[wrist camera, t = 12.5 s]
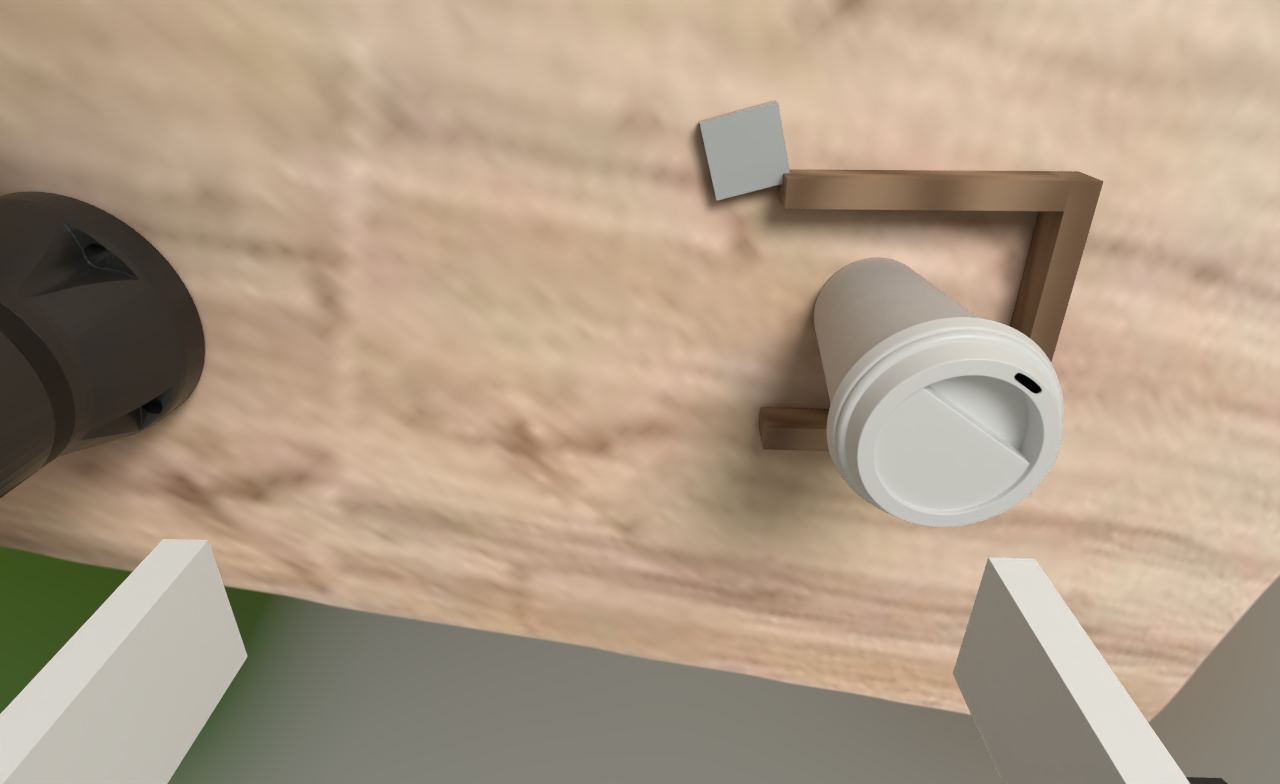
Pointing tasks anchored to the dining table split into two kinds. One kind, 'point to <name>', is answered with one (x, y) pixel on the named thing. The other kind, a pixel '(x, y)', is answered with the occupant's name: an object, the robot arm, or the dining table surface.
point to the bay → (1053, 194)
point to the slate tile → (745, 150)
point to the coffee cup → (932, 398)
